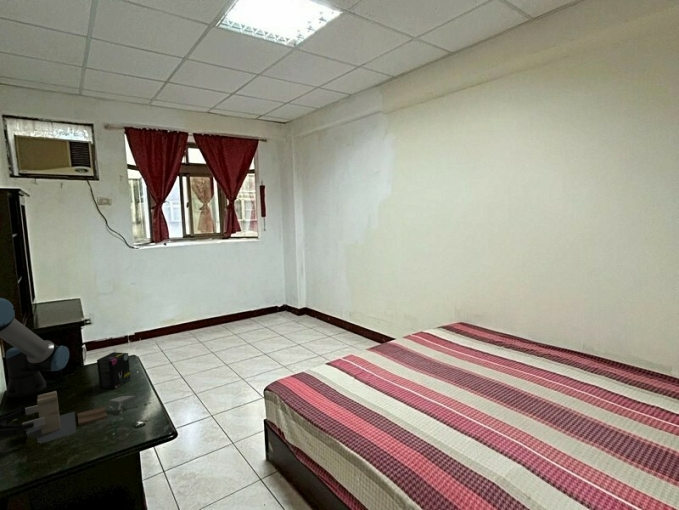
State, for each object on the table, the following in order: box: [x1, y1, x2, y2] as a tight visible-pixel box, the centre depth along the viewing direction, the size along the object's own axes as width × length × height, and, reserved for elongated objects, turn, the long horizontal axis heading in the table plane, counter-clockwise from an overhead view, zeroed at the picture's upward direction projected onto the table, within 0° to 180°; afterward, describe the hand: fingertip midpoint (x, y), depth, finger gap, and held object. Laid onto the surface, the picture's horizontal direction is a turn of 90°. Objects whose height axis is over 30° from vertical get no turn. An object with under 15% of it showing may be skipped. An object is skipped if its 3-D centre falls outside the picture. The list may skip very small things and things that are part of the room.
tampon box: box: [96, 351, 131, 390], centre depth 191 cm, size 11×9×15 cm
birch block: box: [36, 390, 61, 435], centre depth 152 cm, size 6×6×14 cm
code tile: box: [25, 411, 77, 445], centre depth 153 cm, size 20×16×1 cm
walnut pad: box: [77, 405, 108, 427], centre depth 161 cm, size 10×10×1 cm
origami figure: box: [108, 395, 141, 415], centre depth 167 cm, size 12×8×5 cm
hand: (45, 413), depth 151 cm, fingers open, 13 cm apart
